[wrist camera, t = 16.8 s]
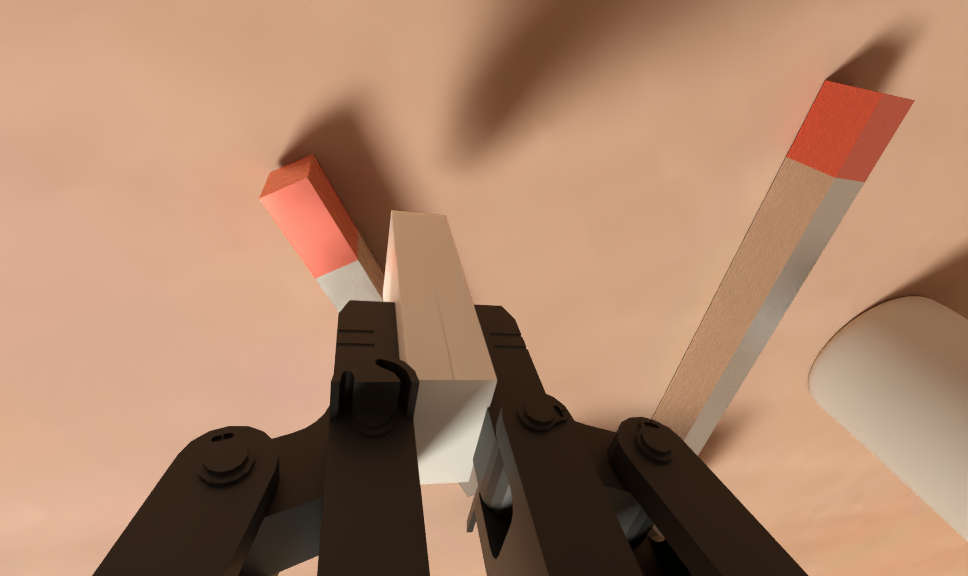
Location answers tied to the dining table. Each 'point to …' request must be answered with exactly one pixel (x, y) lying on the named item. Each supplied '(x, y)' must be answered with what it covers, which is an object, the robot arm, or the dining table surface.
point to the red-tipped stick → (326, 239)
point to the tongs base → (780, 251)
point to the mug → (905, 396)
